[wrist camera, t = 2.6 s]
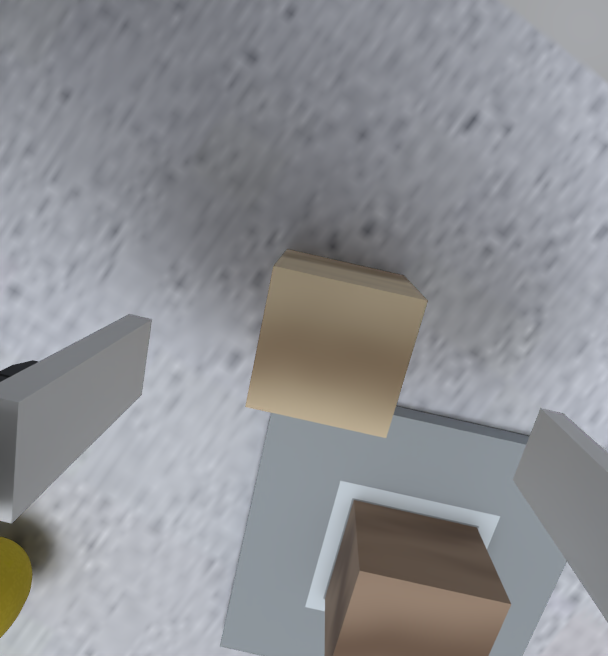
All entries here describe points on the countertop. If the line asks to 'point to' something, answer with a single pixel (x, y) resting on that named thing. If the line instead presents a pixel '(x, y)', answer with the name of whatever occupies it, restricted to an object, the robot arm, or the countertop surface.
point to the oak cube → (335, 343)
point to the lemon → (13, 581)
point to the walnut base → (412, 588)
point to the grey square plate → (388, 491)
